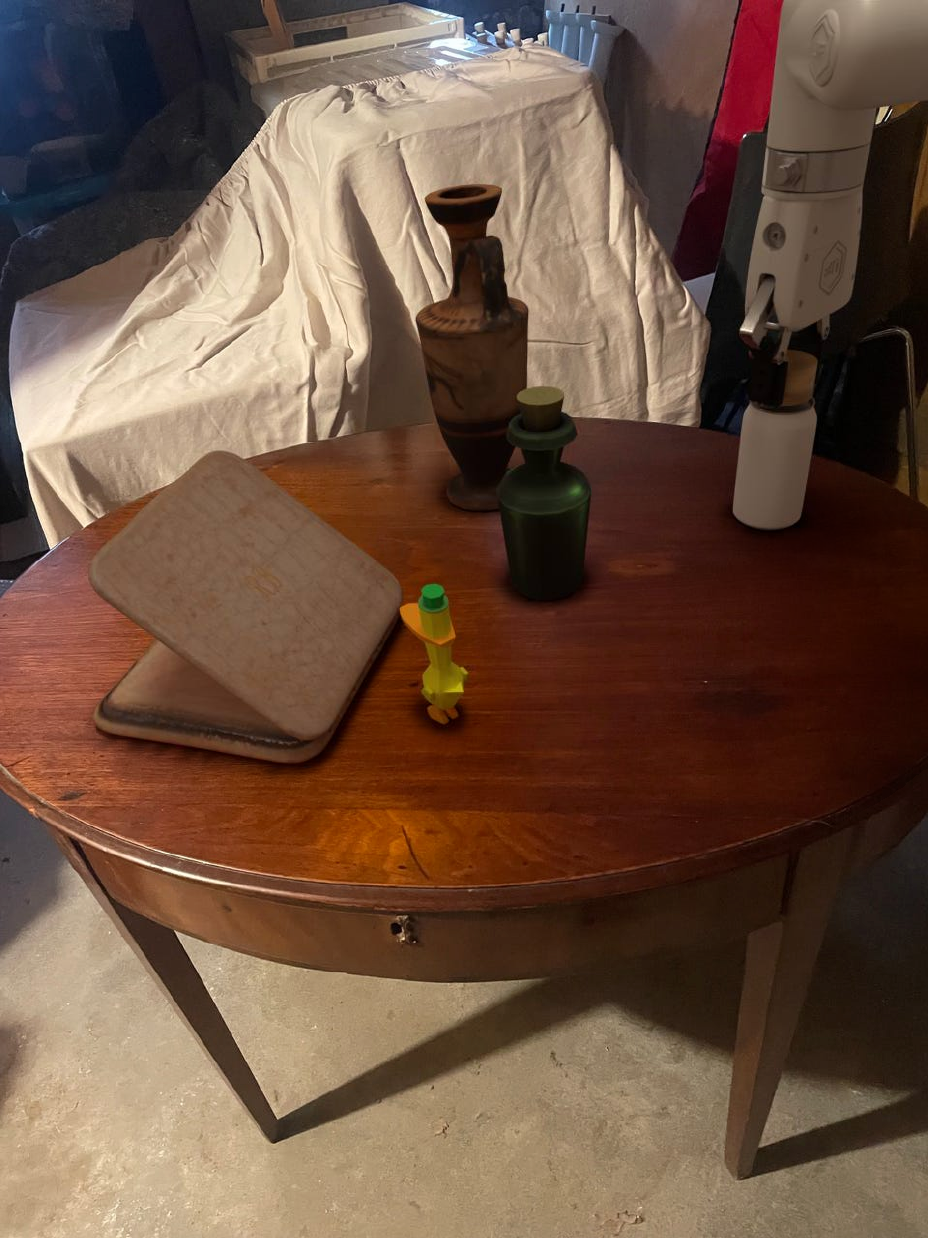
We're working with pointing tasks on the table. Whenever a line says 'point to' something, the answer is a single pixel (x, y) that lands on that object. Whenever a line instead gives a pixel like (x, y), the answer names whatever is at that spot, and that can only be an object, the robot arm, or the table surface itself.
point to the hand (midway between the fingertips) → (783, 389)
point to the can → (773, 464)
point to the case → (240, 616)
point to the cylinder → (799, 377)
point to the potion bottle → (544, 500)
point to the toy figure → (436, 651)
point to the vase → (474, 347)
